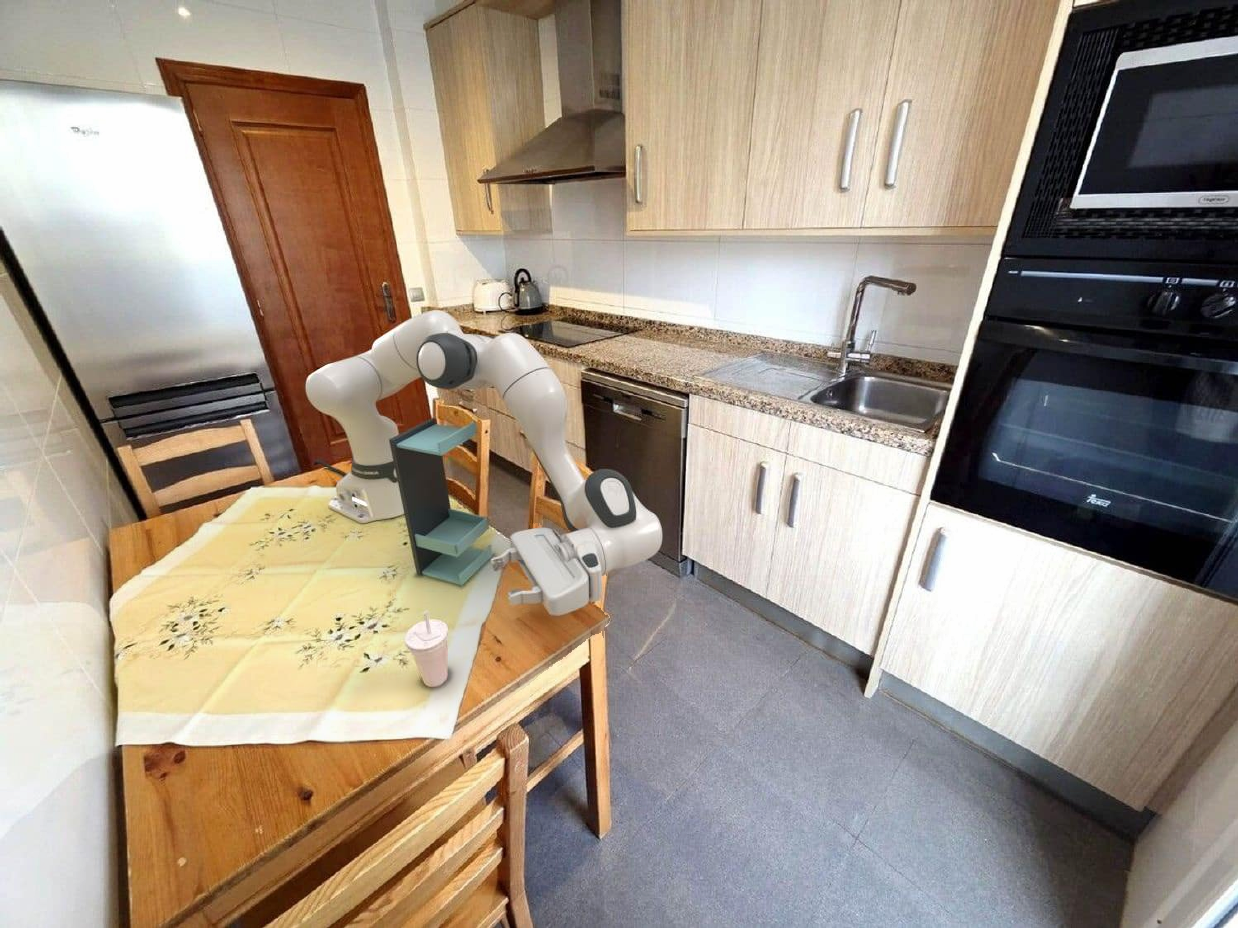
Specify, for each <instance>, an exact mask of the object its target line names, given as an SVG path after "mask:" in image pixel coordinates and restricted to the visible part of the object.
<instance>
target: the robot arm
mask: <svg viewBox="0 0 1238 928" xmlns="http://www.w3.org/2000/svg"><path fill="white" fill-rule="evenodd" d="M419 378H421V379H422V380H423V381H424V382H425V383H426V384H428V385H429V386H431V387H434V388H437V389H442V390H447V391H448V390H450V391H451V390H460V391H475V390H483V389H495V390H496V392H497V393H498V395H499V397H500V398H501V400H502V401H503V403H504V404H505V406H506V407H507V409H508V411H509V412H510V414H511V415H512V416H513V418H514V420H515V422H516V423H517V425H518V426H519V429H520V430H521V431H522V433H523V435H524V437H525V439H526V441H527V442H528V444H529V446H530V448H531V450H532V452H533V454H534V456H535V457H536V460H537V461H538V463H539V465H540V467H541V468H542V470H543V472H544V474H545V476H546V477H547V479H548V481H549V483H550V485H551V486H552V488H553V490H554V492H555V494H556V495H557V498H558V500H559V501H560V502H559V503H560V506H561V512H562V518H563V522H564V524H565V527H566V528H567V529H568V530H569V531H570V532H567V533H564V534H561V531H559V530H557V529H552V528H548V527H535V528H530V529H524V530H519V531H516V532H513V533H512V534H511V535H510V537H509V544H510V548H508V549H506V550H505V551H504V552H503V553H502V554H500V555H498V556H495V557H491V558H490V567H491V568H492V570H493V571H494V572H498V571H501V570H504V569H505V565H507V564H509V563H510V562H511V563H512V564H513V563H518V564H519V566H520V568H521V570H522V571H523V573H524V574H525V576H526V578H527V579H528V582H529V583H530V585H531V586H532V588H531V590H520V587H519V588H514V589H513V590H512V589H511V590H509V591H508V593H507V599H508V601H509V603H510V605H511V606H517V605H519V604H522V603H523V604H531V605H532V604H533V605H536V604H539V603H542V605H543V607H544V608H545V609H546V611H547V613H548V615H550V616H557V617H560V616H563V615H567V614H569V613H572V612H574V611H577V610H580V609H581V608H583V607H585V606H586V605H588V603H589V602H591V603H595V602H596V603H597V602H599V601H601V600H602V595H603V577H604V576H605V575H607V574H608V573H610V572H611V571H615V570H624V569H627V568H630V567H632V566H635V565H638V564H641V563H642V562H644V561H647V560H649V559H651V558H652V557H653V556H655V555H656V554H657V553H658V552H659V550H660V549H661V546H662V543H663V527H662V524H661V521H660V519H659V517H658V516H657V515H656V514H655V513H653V512H652V511H651V510H649V509H647V507H645V506H644V505H643V504H642V503H641V502H640V500H639V499H638V497H637V496H636V494H635V493H634V491H633V488H632V486H631V484H630V482H629V481H628V479H627V478H626V477H625V476H624V475H623V474H621V473H620V472H618V471H616V470H614V469H610V468H599V469H596V470H595V471H593V472H591V473H590V474H589V475H588V476H587V477H586V478H584V476H583V474H582V472H581V471H580V469H579V467H578V465H577V464H576V461H575V460H574V458H573V457H572V454H571V453H570V451H569V448H568V445H567V440H566V421H567V415H568V402H569V401H568V398H567V395H566V392H565V390H564V387H563V385H562V384H561V382H560V380H559V378H558V377H557V375H556V374H555V372H554V371H553V369H552V368H551V366H550V365H549V363H548V362H547V361H546V360H545V358H543V356H542V354H541V353H540V352H539V351H538V350H537V349H536V347H534V346H533V345H532V344H531V343H530V342H529V341H528V340H527V339H526V338H525V337H524V336H523V335H521V334H519V333H516V332H506V333H502V334H499V335H497V336H496V337H495V336H489V335H481V334H474V333H464V332H463V330H462V328H461V326H460V324H459V322H458V321H457V320H456V318H454V316H453V315H451V314H450V313H448V312H446V311H444V310H441V309H440V310H439V309H434V310H433V309H432V310H429V311H425V312H423V313H419V314H417V315H415V316H413V317H410V318H409V319H407V320H405V321H404V322H403V321H402V322H401V323H400V324H398V325H396V326H395V327H394V328H392V329H391V330H389V331H388V332H386V333H384V334H383V335H381V336H380V337H379V338H377V339H375V340H374V342H373V344H372V346H371V349H369V350H368V351H365V352H363V353H359V354H357V355H354V356H352V357H349V358H348V357H347V358H344V359H342V360H337V361H334V362H332V363H328V364H325V365H324V366H322V367H320V368H319V369H316V370H315V371H313V372H312V373H311V374H310V375H308V376H307V378H306V379H305V394H306V397H307V400H308V401H309V403H310V404H311V405H312V406H313V407H314V408H315V409H316V410H317V411H319V412H321V413H322V414H324V415H327V416H329V417H332V418H333V419H334V420H336V421H337V422H338V423H339V424H340V426H341V427H342V429H343V431H344V432H345V435H346V437H347V440H348V443H349V447H350V451H351V454H352V457H351V458H350V459H348V460H346V461H345V462H346V466H349V465H351V468H350V471H349V472H348V473H346V472H345V471H343V470H341V469H339V468H337V467H334V466H332V465H330V464H328V463H327V462H325V461H323V460H316V461H314V462H313V466H317V465H318V464H319V465H322V466H324V467H325V468H327V469H329V470H330V471H333V472H334V473H335V472H336V473H338V474H339V475H342V476H343V477H342V478H341V479H340V480H338V482H337V483H336V485H335V493H336V495H335V496H334V497H333V498H332V499H330V501H329V502H328V504H327V505H328V508H329V509H330V510H333V512H334V511H335V512H336V513H338V514H340V515H343V516H345V517H347V518H349V519H351V520H352V521H355V522H357V523H359V524H367V523H372V522H374V521H381V520H389V519H393V518H396V517H400V516H403V515H405V514H404V510H403V505H402V500H401V495H400V490H399V486H398V481H397V476H396V471H395V466H394V462H393V457H392V452H391V447H390V442H389V439H391V438H393V437H395V436H397V435H399V434H400V433H399V428H398V425H397V423H396V422H395V421H394V420H392V419H391V418H389V417H387V416H384V415H381V414H380V413H379V411H378V408H377V405H376V404H377V402H379V401H381V400H383V399H386V398H388V397H391V396H393V395H395V394H397V393H398V392H399V391H401V390H402V389H404V388H405V387H406V386H407V385H408V384H410V383H412V382H414V381H416V380H418V379H419Z"/></svg>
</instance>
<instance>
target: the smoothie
mask: <svg viewBox="0 0 1238 928" xmlns="http://www.w3.org/2000/svg"><path fill="white" fill-rule="evenodd" d="M423 619H424V620H422V621H419V622H417V623H415V624H414V625H413V626H411V627H410V628H409V629H408V630H407V631H406V634H405V637H404V642H405V648H406V649H407V650H408V651H409V652H410V653H411V656H412V659H413V660H414V662H415V664H416V667H417V669H418V672H419V674H420V676H421V678H422V680H423V683H424V685H425V686H426V687H429V688H435V687H439V686H441V685H442V684H444V683H445V682H446V681H447V679H448V673H449V672H448V638H449V636H450V632H449V628H448V625H447V624H446V623H445V622H444V621H442V620H440V619H435V618H434V619H433V618H432V619H430V618H429V612H428V611H427V610H425V611H423Z"/></svg>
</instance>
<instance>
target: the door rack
mask: <svg viewBox="0 0 1238 928" xmlns="http://www.w3.org/2000/svg"><path fill="white" fill-rule="evenodd" d="M476 435H478V426H477V421H472V422H471V423H469V424H467V425H465V426H464V427H462V428H461V427H455V426H450V425H443V424H439V423H438V420H437V418H436V417H431V418H429V419H427V420H425V421H422V422H421V423H419V424H417V425H415V426H413V427H411V428H408V429H407V430H405V431H403V432H401V433H399V435H397V436H395V437H393V438H391V439H389V442H390V447H391V452H392V457H393V462H394V466H395V471H396V476H397V481H398V486H399V490H400V495H401V500H402V505H403V510H404V514H403V515H404V519H405V524H406V529H407V534H408V539H409V544H410V548H411V552H412V557H413V562H414V567H415V572H416V575H417V576H423V575H424V576H427V577H430V578H434V579H436V580H440V581H444V582H447V583H452V584H454V585H458V586H461V587H462V586H464V585H465V584H466V583H467V582H468V581H469V580H470V579H471V578H472V577H473V576H474V575H475V574H476V572H478V571H479V570H480V569H481V568H482V567H483V566H484V565H485V564H486V563H487V562H488V561H489V560H491V559H492V558H493V547H492V544H489V545H488V546H487V547H486V548H485V549H484V550H482V549H480V548H475V547H471V546H472V545H473V544H474V543H475V542H476V541H477V540H478V539H479V538H481V536H483V535H484V534H485V533H486V532H487V531H488V530H489V529H490V523H489V517H487V516H482V515H479V514H475V513H469V512H466V511H461V510H457V509H453V508H452V507H451V503H450V502H451V501H450V495H449V489H448V483H447V476H446V469H445V464H444V463H445V462H444V459H443V458H444V456H443V455H445V454H447V453H448V452H450V451H452V450H453V449H455V448H456V447H458V446H460V445H462V444H464V443H465V442H467V441H468V440H470V439H472V438H473V437H475V436H476Z"/></svg>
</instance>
